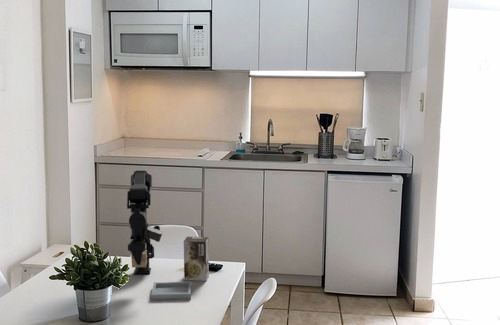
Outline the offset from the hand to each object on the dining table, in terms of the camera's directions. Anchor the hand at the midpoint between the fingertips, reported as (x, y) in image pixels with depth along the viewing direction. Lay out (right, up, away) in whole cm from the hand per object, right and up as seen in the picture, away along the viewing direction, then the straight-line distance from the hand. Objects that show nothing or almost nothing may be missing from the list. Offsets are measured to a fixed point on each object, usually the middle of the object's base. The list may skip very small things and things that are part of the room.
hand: (139, 262), depth 210 cm
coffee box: (+20, -9, +15) cm, 27 cm away
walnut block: (0, -1, 0) cm, 1 cm away
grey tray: (+12, -11, -1) cm, 17 cm away
